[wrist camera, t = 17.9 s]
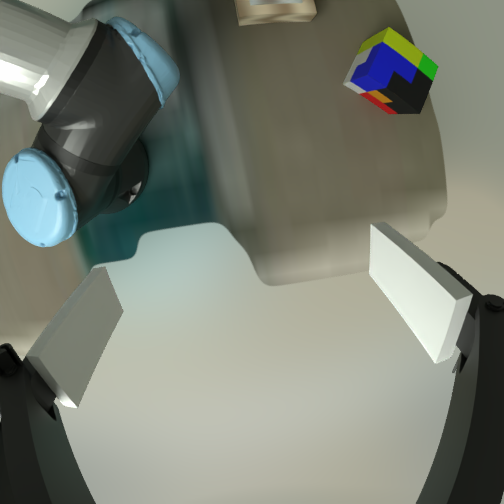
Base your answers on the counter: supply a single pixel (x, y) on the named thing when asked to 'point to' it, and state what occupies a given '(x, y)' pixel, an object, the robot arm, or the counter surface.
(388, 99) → the puzzle toy
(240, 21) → the pedestal
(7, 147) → the counter surface
